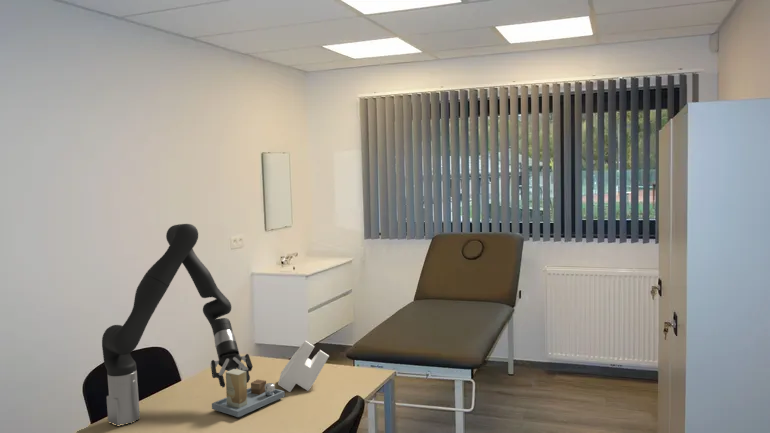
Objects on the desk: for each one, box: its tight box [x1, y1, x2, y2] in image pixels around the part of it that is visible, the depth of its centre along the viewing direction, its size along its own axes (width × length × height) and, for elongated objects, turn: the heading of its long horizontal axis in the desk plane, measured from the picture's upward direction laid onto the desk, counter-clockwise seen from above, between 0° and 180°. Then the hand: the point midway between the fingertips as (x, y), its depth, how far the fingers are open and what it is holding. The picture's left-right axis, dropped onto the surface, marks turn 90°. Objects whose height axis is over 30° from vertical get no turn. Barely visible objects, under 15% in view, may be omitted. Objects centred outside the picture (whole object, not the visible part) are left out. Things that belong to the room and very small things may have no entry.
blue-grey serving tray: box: [211, 387, 286, 419], centre depth 217 cm, size 22×14×3 cm, turn 144°
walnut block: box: [250, 379, 267, 395], centre depth 225 cm, size 4×4×4 cm
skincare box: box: [225, 369, 248, 408], centre depth 213 cm, size 6×4×12 cm
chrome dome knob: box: [265, 382, 276, 397], centre depth 221 cm, size 4×4×4 cm
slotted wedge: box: [277, 340, 330, 393], centre depth 236 cm, size 14×11×18 cm
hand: (235, 384), depth 214 cm, fingers open, 8 cm apart
